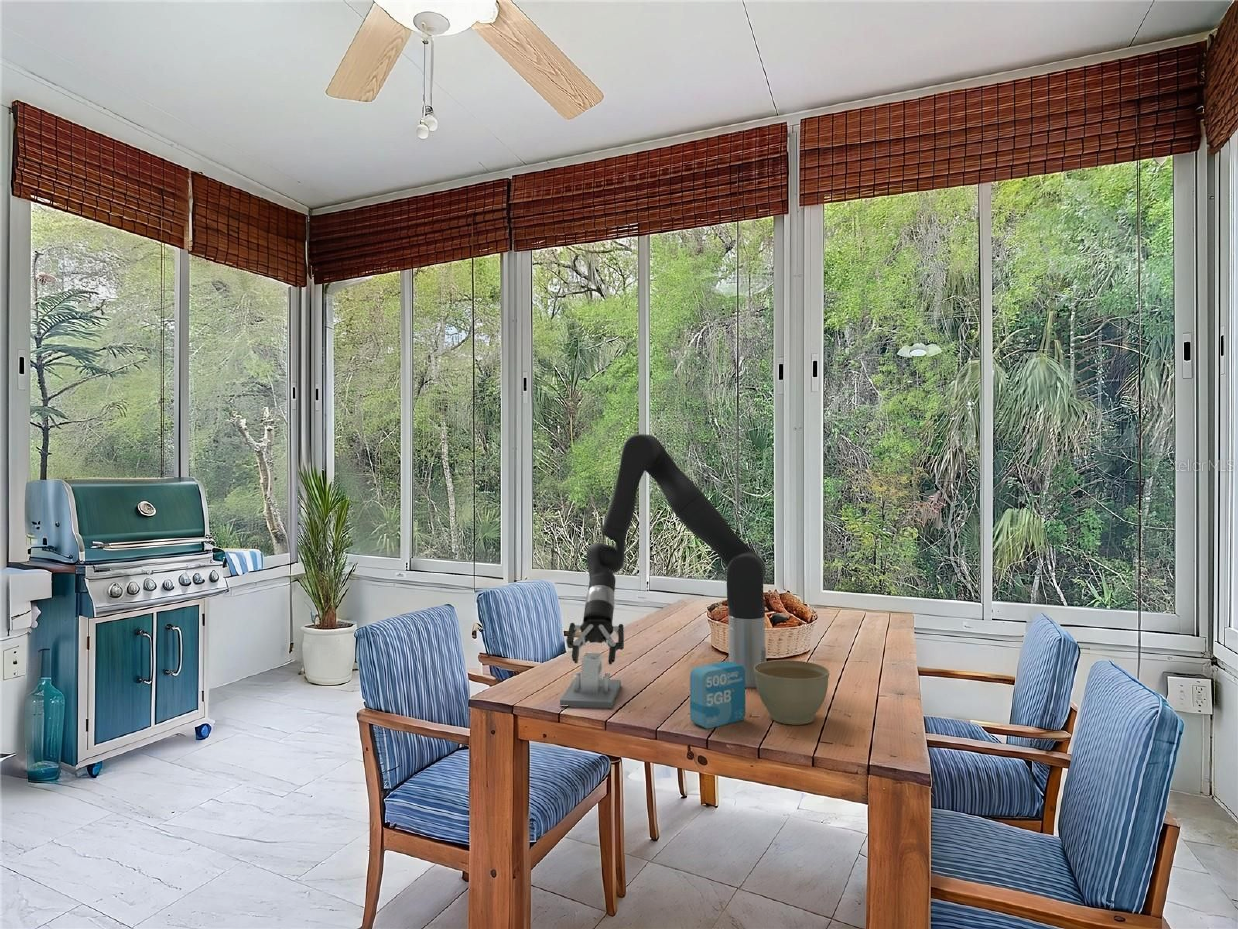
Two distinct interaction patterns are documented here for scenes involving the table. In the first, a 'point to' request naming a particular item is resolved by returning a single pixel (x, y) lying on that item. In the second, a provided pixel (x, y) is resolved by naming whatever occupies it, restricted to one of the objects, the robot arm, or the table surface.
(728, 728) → the table surface
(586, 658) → the block
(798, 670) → the planter bowl
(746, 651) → the robot arm
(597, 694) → the drive dock
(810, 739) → the table surface
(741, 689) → the data package
